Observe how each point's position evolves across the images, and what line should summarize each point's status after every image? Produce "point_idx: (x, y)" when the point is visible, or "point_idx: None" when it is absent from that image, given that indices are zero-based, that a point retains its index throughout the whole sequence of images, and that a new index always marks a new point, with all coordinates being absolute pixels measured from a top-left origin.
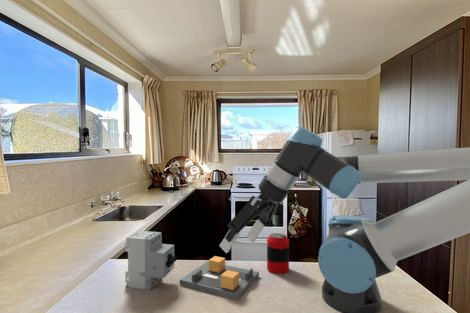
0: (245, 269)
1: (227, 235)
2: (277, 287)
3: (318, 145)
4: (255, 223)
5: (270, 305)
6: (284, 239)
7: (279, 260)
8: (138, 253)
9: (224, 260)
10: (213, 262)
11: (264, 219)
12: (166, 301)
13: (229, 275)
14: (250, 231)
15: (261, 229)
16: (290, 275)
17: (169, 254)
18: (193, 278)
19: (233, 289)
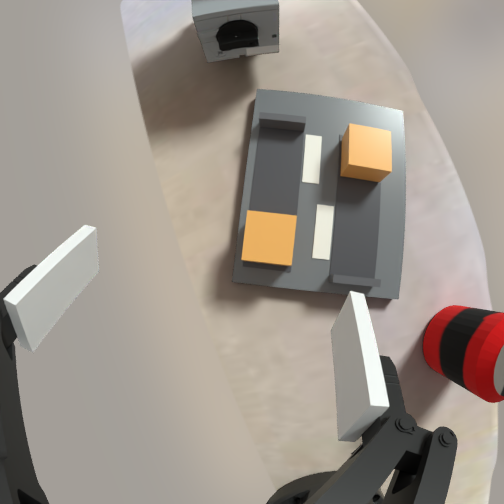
0: (401, 250)
1: (16, 281)
2: None
3: None
4: (363, 381)
5: (238, 371)
6: (493, 396)
7: (442, 364)
8: None
9: (384, 172)
10: (347, 143)
11: (333, 476)
12: (172, 114)
13: (256, 240)
14: (352, 327)
15: (340, 412)
16: (422, 383)
17: (232, 23)
18: (259, 122)
19: (247, 261)
